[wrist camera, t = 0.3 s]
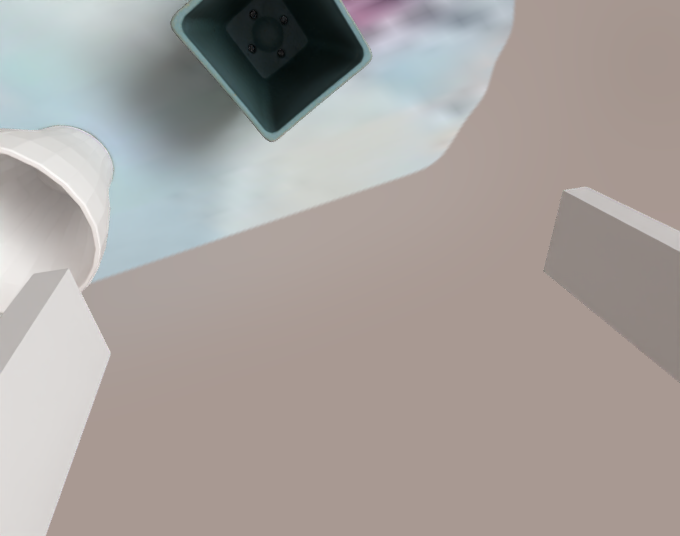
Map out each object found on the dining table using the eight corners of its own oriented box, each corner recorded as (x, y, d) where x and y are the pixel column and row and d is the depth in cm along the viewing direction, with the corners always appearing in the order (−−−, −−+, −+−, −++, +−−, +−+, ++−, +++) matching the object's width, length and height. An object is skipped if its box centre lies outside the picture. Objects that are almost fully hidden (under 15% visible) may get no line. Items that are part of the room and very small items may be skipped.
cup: (52, 238, 36) (-30, 339, 25) (-41, 120, 30) (-202, 181, 19) (166, 198, 36) (136, 280, 25) (96, 75, 31) (17, 108, 19)
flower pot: (262, 118, 35) (271, 146, 27) (181, 21, 30) (165, 22, 23) (344, 48, 33) (376, 57, 26) (272, -65, 29) (287, -94, 21)
